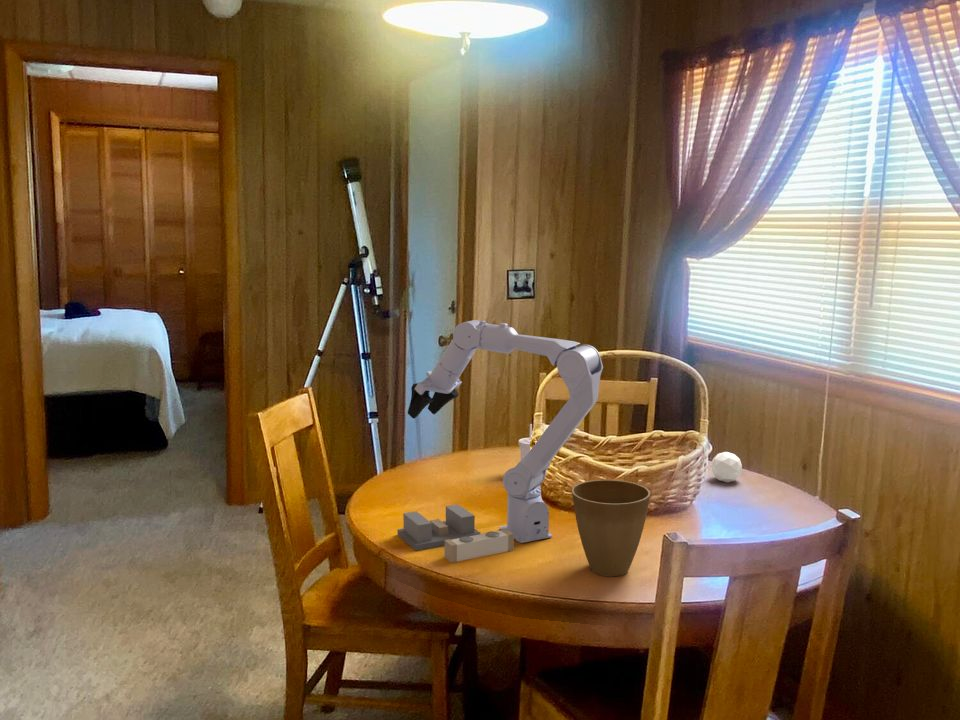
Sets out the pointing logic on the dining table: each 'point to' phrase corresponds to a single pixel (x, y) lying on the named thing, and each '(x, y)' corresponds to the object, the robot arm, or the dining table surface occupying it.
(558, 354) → the robot arm
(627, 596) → the dining table surface
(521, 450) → the smoothie
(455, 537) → the grey fixture base
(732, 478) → the geometric ball
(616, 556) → the plant pot
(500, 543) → the frame bar
